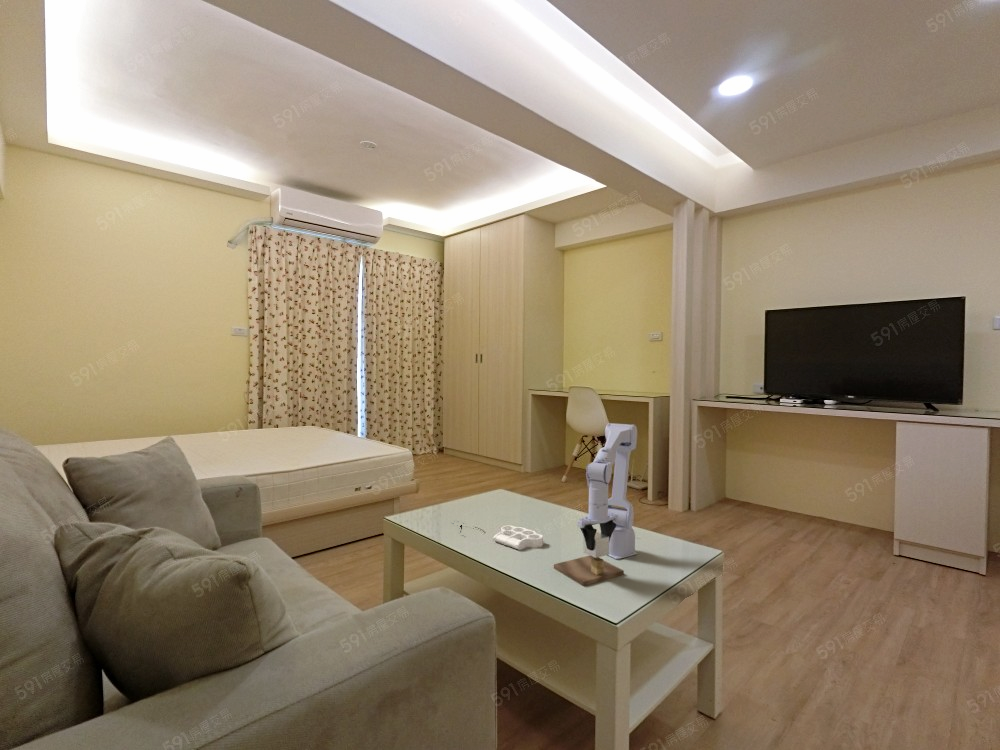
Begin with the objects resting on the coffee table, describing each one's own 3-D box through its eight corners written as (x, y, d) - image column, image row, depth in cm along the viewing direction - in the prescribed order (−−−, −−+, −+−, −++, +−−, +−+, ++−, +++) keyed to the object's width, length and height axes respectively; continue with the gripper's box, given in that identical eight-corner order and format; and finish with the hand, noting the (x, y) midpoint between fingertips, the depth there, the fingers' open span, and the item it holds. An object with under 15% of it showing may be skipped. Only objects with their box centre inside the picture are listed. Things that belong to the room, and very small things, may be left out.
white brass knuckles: (486, 541, 171) (513, 531, 182) (524, 554, 159) (550, 543, 169) (486, 531, 171) (513, 522, 182) (525, 544, 159) (550, 534, 169)
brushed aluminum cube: (596, 549, 146) (596, 531, 146) (609, 554, 141) (609, 536, 141) (583, 552, 143) (583, 534, 143) (595, 557, 138) (595, 539, 138)
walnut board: (592, 558, 155) (592, 542, 155) (623, 574, 143) (623, 557, 143) (553, 568, 147) (554, 551, 147) (583, 586, 135) (583, 568, 135)
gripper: (606, 496, 149) (606, 539, 149) (571, 502, 141) (570, 547, 141) (623, 502, 143) (622, 546, 143) (586, 508, 135) (585, 555, 135)
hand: (597, 547), depth 142 cm, fingers closed on brushed aluminum cube, 5 cm apart
